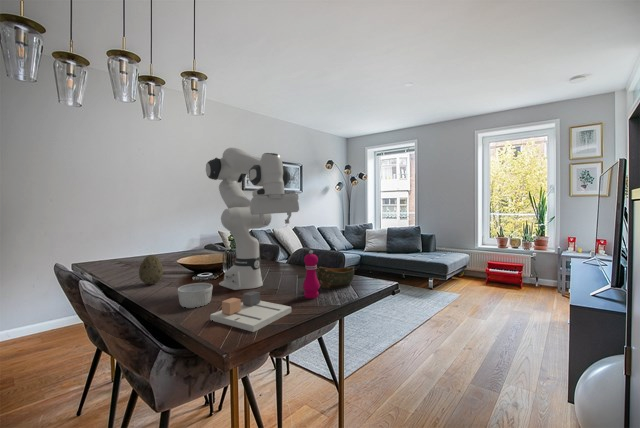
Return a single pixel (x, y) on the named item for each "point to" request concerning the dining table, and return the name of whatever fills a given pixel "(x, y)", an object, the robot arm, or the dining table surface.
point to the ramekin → (195, 294)
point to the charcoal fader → (251, 298)
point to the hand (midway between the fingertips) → (276, 224)
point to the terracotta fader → (231, 306)
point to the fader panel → (252, 315)
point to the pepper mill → (311, 276)
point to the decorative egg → (150, 270)
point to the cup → (335, 277)
